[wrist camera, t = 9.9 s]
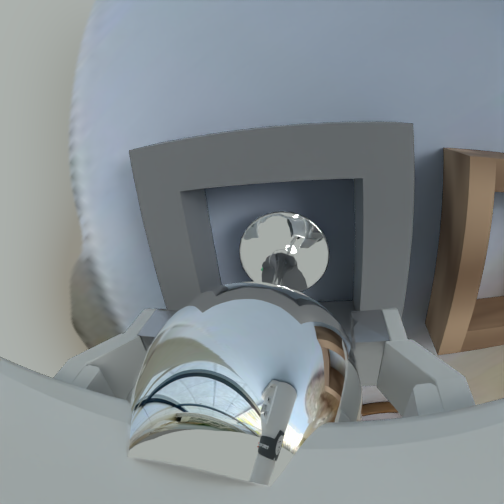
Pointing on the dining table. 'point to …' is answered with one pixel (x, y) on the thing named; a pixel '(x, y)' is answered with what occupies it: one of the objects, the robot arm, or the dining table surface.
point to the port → (281, 170)
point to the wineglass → (247, 364)
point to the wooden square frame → (465, 254)
